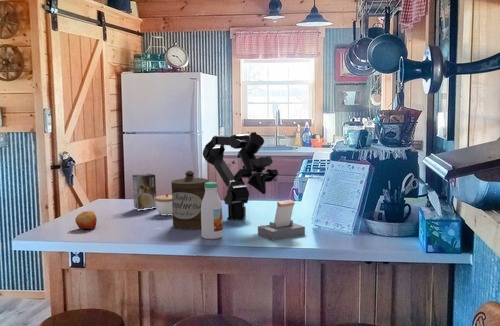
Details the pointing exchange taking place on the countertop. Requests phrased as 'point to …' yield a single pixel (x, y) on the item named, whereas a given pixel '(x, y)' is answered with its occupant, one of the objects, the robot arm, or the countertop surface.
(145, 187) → the coffee box
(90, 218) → the fruit
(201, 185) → the wooden container
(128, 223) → the countertop surface
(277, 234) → the switch unit
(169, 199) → the lidded jar
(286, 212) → the lever
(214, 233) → the milk bottle
